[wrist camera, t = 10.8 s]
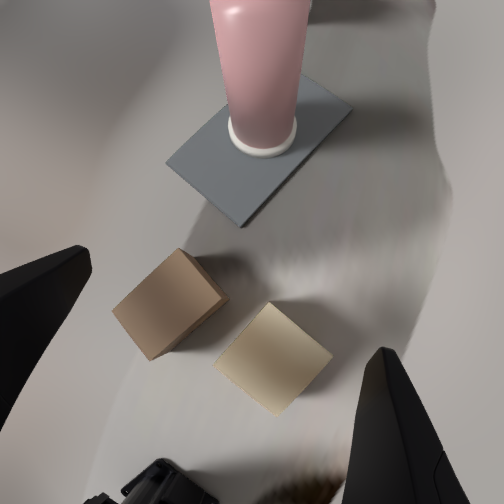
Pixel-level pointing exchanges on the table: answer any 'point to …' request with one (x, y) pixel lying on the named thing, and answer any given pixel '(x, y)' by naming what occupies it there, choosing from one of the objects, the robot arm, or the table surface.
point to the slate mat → (248, 168)
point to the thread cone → (261, 70)
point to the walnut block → (169, 304)
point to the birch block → (273, 360)
